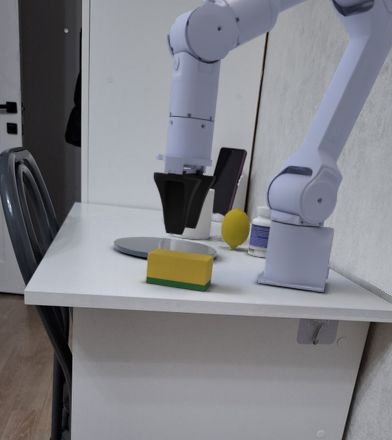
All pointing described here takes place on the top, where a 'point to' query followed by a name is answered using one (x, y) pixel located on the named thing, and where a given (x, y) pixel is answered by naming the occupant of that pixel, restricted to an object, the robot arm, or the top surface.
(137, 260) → the top surface
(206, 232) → the cup
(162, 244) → the plate
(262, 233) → the pill bottle
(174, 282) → the sponge
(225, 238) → the lemon
